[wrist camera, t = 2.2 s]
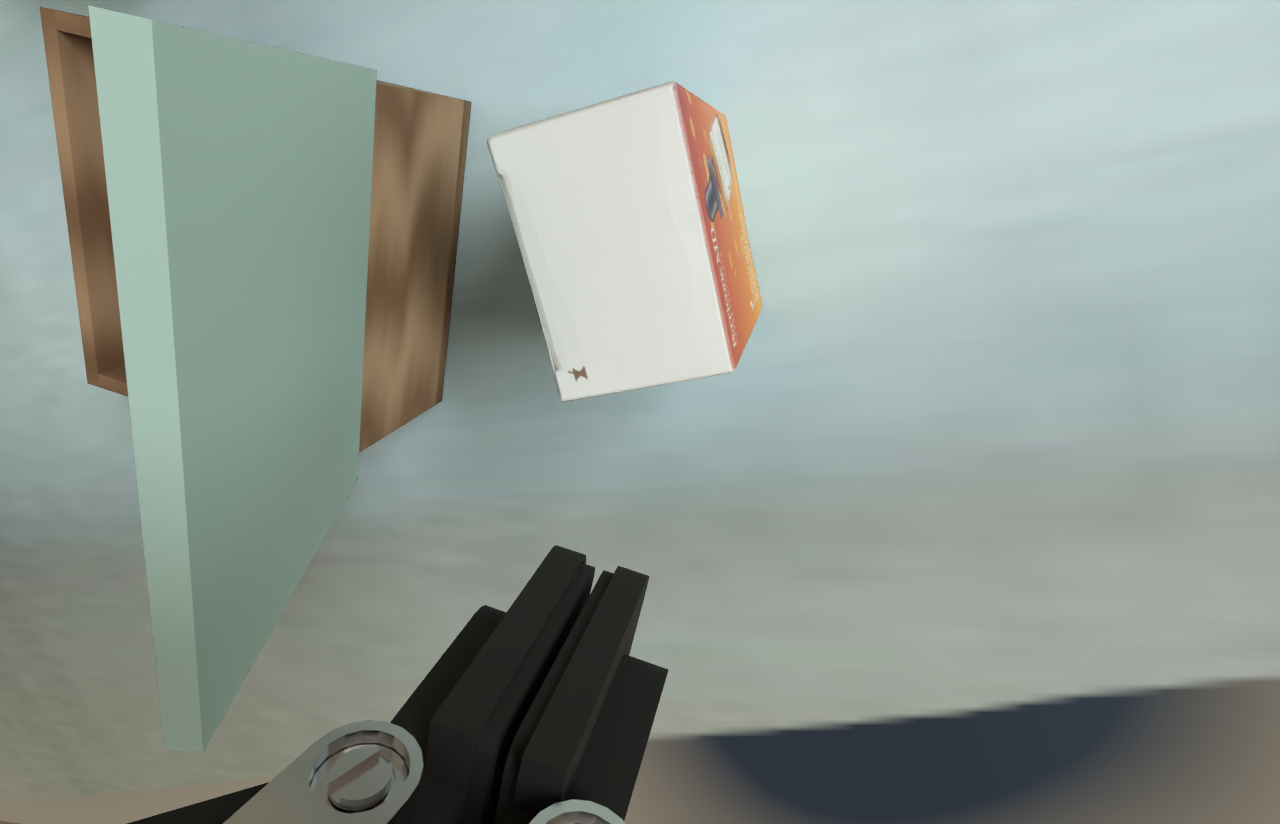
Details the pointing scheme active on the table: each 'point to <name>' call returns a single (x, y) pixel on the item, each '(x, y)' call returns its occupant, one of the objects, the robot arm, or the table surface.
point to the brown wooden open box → (398, 235)
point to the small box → (632, 240)
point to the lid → (233, 328)
